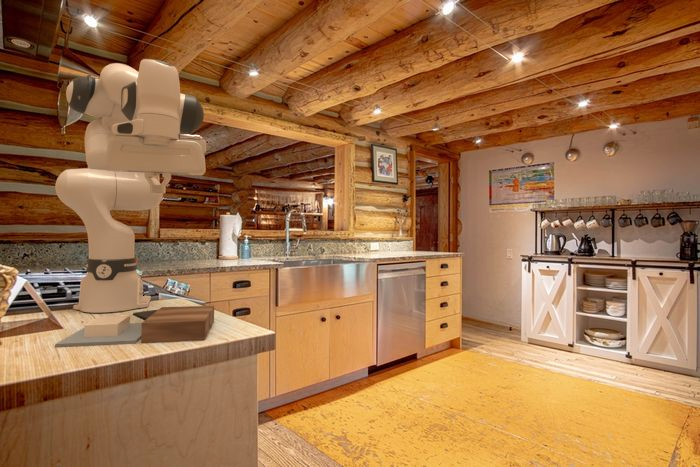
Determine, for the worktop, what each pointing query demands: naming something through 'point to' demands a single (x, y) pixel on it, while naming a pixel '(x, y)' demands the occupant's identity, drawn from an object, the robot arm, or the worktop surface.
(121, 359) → the worktop surface
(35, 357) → the worktop surface
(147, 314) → the smartphone
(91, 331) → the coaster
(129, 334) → the mat
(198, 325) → the brown flat wooden block
